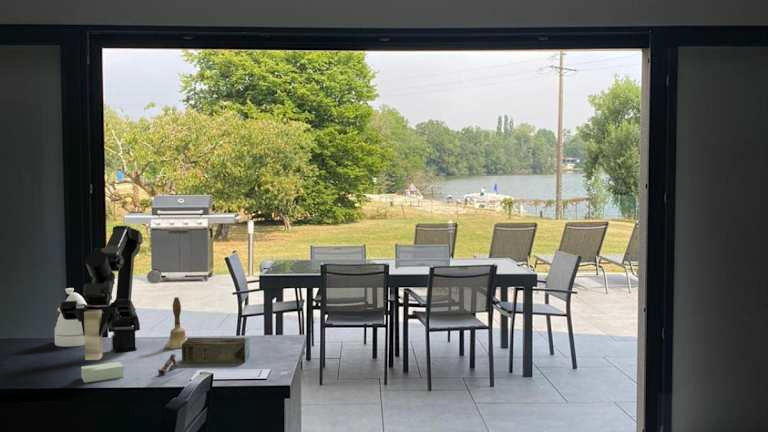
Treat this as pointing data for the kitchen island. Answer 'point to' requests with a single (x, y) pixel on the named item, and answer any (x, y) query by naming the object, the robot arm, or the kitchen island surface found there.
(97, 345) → the beech post
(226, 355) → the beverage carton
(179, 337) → the hand bell
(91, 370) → the pale green block
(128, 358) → the kitchen island surface
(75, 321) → the honey pot
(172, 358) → the wooden post with brackets
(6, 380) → the kitchen island surface
